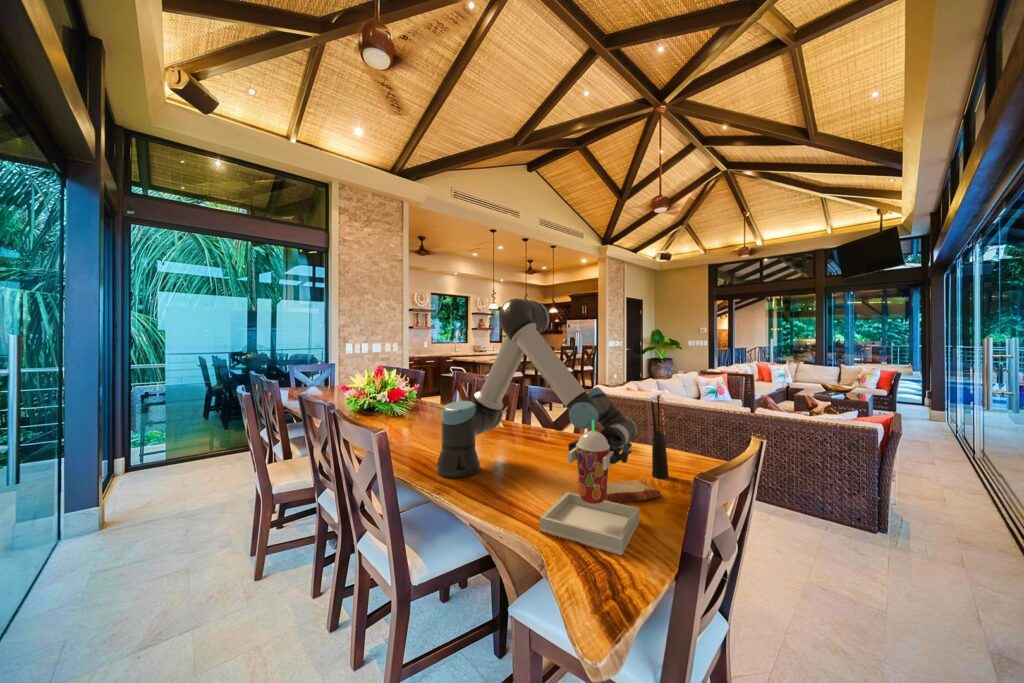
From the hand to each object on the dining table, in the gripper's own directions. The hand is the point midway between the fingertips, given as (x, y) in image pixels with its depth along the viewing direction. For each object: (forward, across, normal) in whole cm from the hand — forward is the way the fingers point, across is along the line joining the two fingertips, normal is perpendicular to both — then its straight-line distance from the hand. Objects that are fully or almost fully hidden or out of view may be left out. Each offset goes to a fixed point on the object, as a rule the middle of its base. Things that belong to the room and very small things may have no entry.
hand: (586, 461), depth 96 cm
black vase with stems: (-52, -8, -18) cm, 55 cm away
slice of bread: (-28, -3, -18) cm, 34 cm away
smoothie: (-5, 0, -11) cm, 12 cm away
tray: (-5, 0, -18) cm, 18 cm away
